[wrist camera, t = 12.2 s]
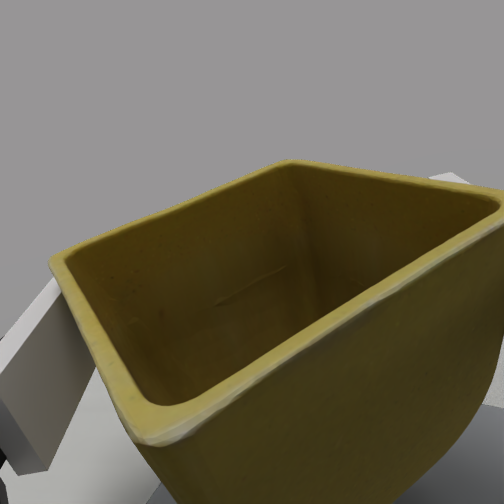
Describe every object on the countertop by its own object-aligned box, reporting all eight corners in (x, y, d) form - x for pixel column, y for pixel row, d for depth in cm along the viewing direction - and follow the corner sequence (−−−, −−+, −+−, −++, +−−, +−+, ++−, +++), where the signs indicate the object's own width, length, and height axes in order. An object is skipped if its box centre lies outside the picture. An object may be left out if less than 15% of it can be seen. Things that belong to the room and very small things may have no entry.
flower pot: (278, 744, 9) (131, 451, 5) (145, 463, 16) (41, 252, 12) (521, 483, 12) (545, 192, 9) (323, 348, 19) (287, 156, 16)
